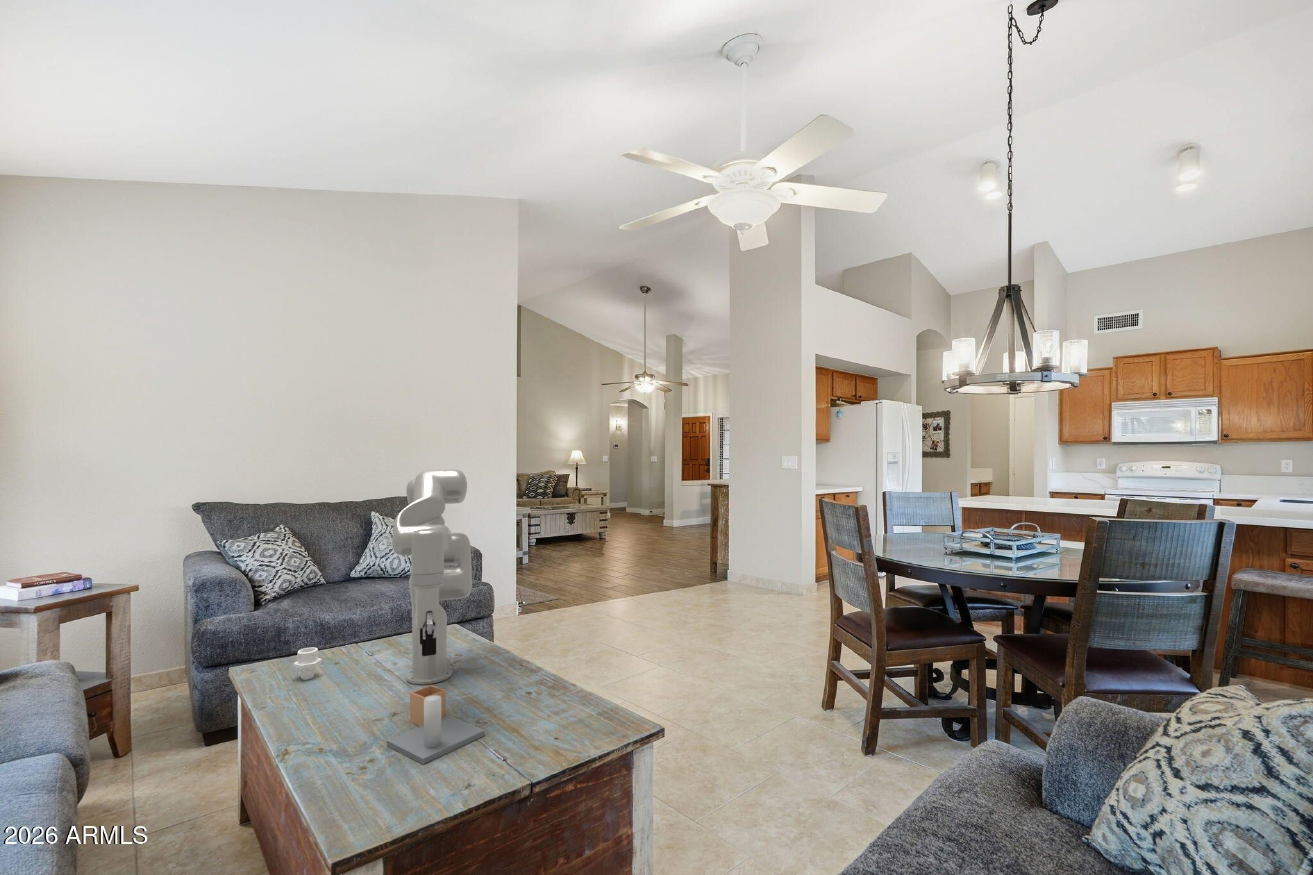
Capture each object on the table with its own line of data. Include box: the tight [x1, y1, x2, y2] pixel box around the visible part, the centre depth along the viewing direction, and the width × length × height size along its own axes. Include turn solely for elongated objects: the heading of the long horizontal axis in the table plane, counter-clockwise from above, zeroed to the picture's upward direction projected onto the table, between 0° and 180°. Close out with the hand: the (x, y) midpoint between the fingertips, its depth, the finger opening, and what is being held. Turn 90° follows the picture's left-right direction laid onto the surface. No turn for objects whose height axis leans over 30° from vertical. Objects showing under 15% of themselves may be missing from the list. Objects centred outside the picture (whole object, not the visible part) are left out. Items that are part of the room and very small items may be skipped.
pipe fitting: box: [293, 646, 323, 681], centre depth 178 cm, size 6×7×8 cm
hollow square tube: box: [409, 684, 447, 727], centre depth 150 cm, size 6×6×7 cm
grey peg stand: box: [386, 695, 486, 765], centre depth 139 cm, size 16×14×11 cm
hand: (427, 649), depth 150 cm, fingers open, 9 cm apart
